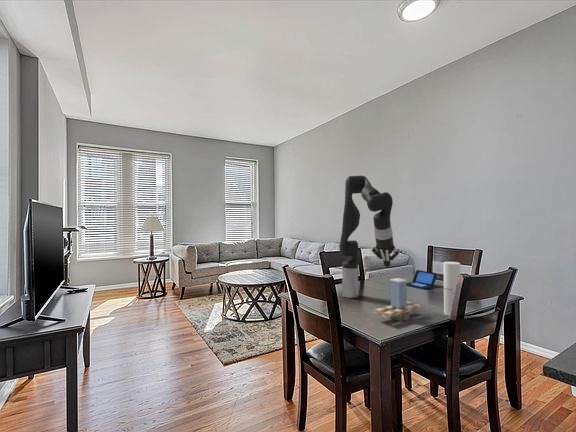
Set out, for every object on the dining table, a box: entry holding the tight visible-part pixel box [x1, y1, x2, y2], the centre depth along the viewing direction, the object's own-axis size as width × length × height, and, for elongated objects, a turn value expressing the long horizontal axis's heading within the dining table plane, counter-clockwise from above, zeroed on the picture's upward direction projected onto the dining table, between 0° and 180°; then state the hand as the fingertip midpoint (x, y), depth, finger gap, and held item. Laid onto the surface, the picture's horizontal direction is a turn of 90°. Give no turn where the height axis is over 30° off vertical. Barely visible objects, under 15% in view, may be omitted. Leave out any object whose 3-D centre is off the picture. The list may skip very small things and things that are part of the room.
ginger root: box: [372, 300, 422, 323], centre depth 144 cm, size 24×8×5 cm, turn 120°
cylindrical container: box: [443, 261, 461, 317], centre depth 148 cm, size 7×7×25 cm
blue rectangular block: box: [389, 277, 408, 309], centre depth 144 cm, size 5×5×14 cm
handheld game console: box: [406, 269, 438, 291], centre depth 202 cm, size 16×13×9 cm
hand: (387, 265), depth 144 cm, fingers closed
